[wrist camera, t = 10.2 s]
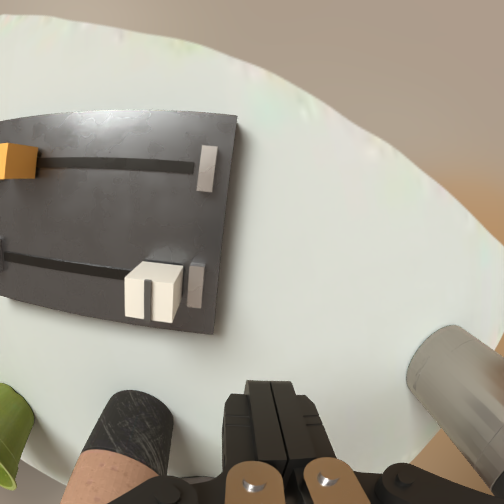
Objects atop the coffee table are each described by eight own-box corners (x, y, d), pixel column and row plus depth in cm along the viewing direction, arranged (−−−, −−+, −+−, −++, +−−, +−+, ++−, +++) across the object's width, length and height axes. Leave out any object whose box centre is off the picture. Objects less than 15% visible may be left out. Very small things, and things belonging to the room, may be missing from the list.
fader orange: (38, 146, 18) (6, 141, 13) (34, 179, 18) (2, 179, 14) (13, 148, 17) (-19, 145, 13) (10, 179, 18) (-22, 180, 14)
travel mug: (96, 385, 25) (17, 544, 5) (167, 388, 25) (125, 585, 6) (118, 435, 26) (73, 579, 7) (182, 439, 27) (166, 603, 7)
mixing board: (236, 121, 21) (237, 112, 18) (214, 323, 24) (212, 340, 21) (9, 124, 19) (-10, 120, 16) (4, 287, 22) (-13, 296, 19)
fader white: (183, 265, 20) (172, 284, 16) (181, 299, 21) (171, 325, 17) (142, 260, 20) (123, 277, 16) (141, 294, 21) (124, 318, 17)
